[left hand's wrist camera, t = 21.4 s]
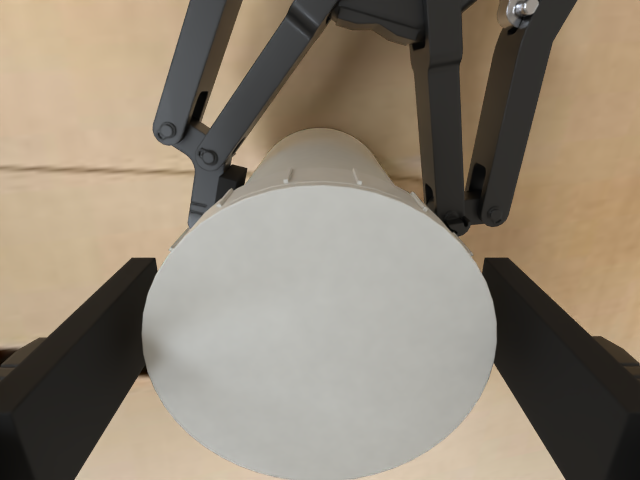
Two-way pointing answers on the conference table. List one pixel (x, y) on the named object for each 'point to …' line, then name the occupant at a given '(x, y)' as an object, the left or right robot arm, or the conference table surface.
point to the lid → (319, 327)
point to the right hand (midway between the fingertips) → (297, 313)
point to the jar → (319, 154)
